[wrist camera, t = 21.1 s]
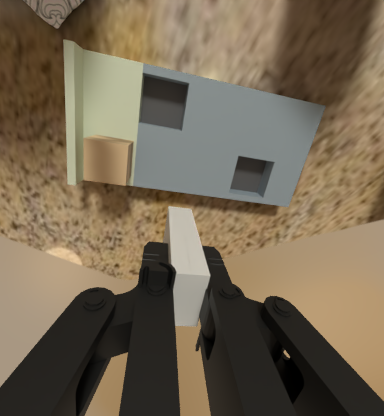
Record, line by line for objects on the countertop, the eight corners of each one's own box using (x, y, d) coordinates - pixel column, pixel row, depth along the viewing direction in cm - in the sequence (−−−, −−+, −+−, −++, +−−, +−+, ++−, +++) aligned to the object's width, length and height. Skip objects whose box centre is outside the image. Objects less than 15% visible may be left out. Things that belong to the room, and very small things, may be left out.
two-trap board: (313, 106, 34) (341, 105, 29) (279, 200, 40) (297, 214, 35) (82, 53, 28) (63, 39, 23) (83, 173, 34) (67, 184, 29)
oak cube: (133, 140, 30) (128, 145, 26) (130, 175, 32) (125, 185, 28) (95, 134, 30) (83, 138, 25) (95, 170, 31) (83, 180, 27)
